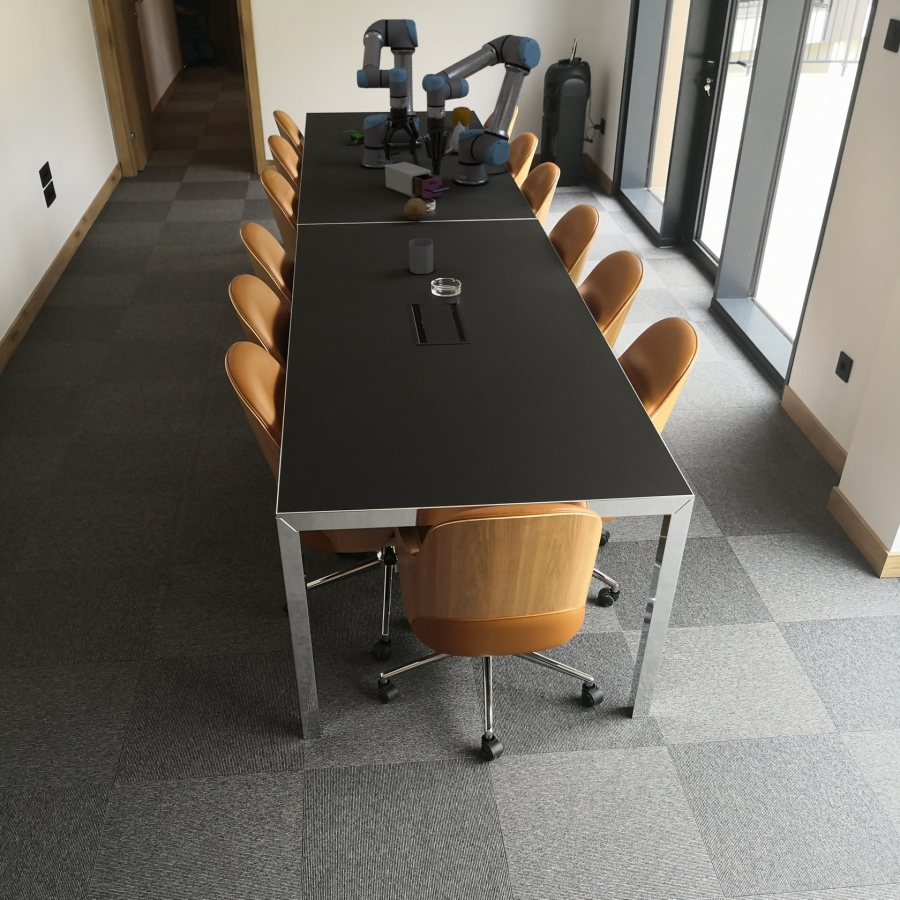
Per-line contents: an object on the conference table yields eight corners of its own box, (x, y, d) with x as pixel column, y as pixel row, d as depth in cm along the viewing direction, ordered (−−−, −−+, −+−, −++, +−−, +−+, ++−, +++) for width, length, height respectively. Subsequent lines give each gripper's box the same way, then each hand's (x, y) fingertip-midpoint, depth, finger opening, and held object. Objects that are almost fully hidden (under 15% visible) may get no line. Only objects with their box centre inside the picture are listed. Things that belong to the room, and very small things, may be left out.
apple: (471, 132, 486) (471, 108, 479) (451, 132, 486) (451, 108, 479) (470, 128, 495) (471, 104, 488) (452, 128, 495) (452, 104, 488)
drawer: (450, 198, 378) (450, 179, 374) (432, 202, 373) (432, 184, 368) (417, 186, 393) (417, 168, 389) (399, 190, 388) (399, 172, 383)
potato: (426, 213, 362) (426, 194, 358) (428, 224, 351) (428, 204, 346) (403, 213, 362) (402, 194, 358) (404, 224, 350) (403, 205, 346)
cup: (409, 265, 311) (408, 238, 306) (432, 265, 312) (431, 238, 307) (410, 274, 304) (409, 246, 299) (433, 273, 305) (433, 246, 299)
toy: (474, 152, 449) (475, 122, 441) (443, 160, 434) (443, 129, 426) (462, 149, 454) (462, 119, 446) (430, 157, 439) (430, 126, 431)
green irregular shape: (396, 126, 467) (340, 124, 465) (396, 141, 460) (339, 139, 458) (396, 136, 472) (341, 134, 470) (396, 151, 465) (340, 149, 463)
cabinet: (431, 192, 388) (430, 170, 383) (410, 197, 382) (410, 174, 377) (405, 183, 400) (405, 161, 395) (385, 188, 394) (385, 165, 389)
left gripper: (380, 112, 367) (382, 163, 379) (426, 104, 380) (427, 154, 392) (370, 109, 372) (372, 160, 383) (416, 101, 385) (417, 150, 397)
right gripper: (429, 120, 353) (429, 179, 366) (453, 116, 360) (453, 173, 373) (418, 117, 358) (419, 175, 371) (442, 113, 365) (442, 170, 378)
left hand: (400, 157), depth 388 cm, fingers open, 13 cm apart
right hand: (436, 174), depth 372 cm, fingers closed
